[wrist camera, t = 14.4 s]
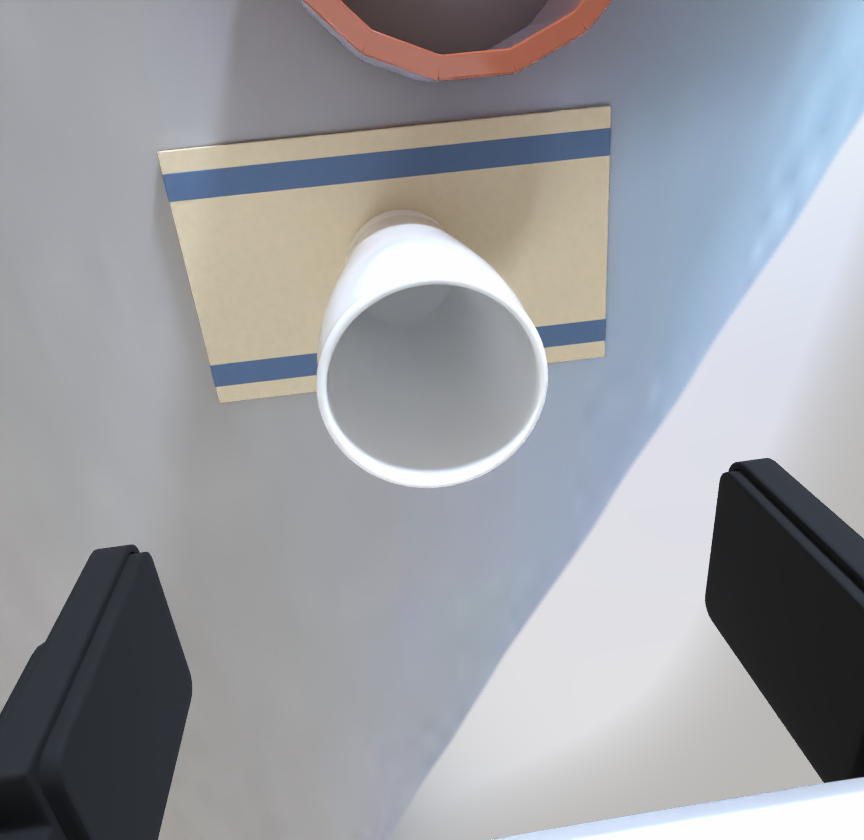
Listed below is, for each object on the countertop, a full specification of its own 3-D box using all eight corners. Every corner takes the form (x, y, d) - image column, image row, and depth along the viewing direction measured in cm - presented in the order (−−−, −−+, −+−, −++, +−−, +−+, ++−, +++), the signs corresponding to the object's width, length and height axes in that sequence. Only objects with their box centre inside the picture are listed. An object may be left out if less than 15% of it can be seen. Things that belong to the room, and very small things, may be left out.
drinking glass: (304, 227, 32) (267, 334, 18) (440, 165, 31) (505, 228, 18) (367, 353, 35) (375, 525, 21) (492, 299, 34) (581, 440, 21)
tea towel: (220, 400, 35) (219, 403, 35) (159, 151, 30) (156, 152, 30) (602, 354, 36) (605, 357, 36) (608, 105, 31) (611, 105, 31)
